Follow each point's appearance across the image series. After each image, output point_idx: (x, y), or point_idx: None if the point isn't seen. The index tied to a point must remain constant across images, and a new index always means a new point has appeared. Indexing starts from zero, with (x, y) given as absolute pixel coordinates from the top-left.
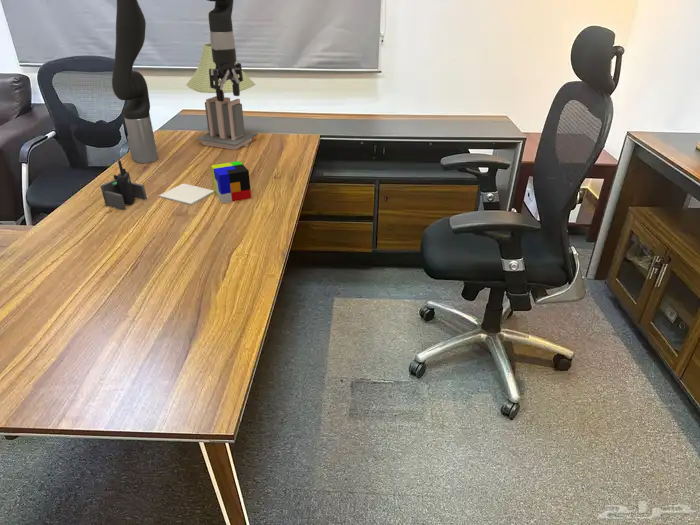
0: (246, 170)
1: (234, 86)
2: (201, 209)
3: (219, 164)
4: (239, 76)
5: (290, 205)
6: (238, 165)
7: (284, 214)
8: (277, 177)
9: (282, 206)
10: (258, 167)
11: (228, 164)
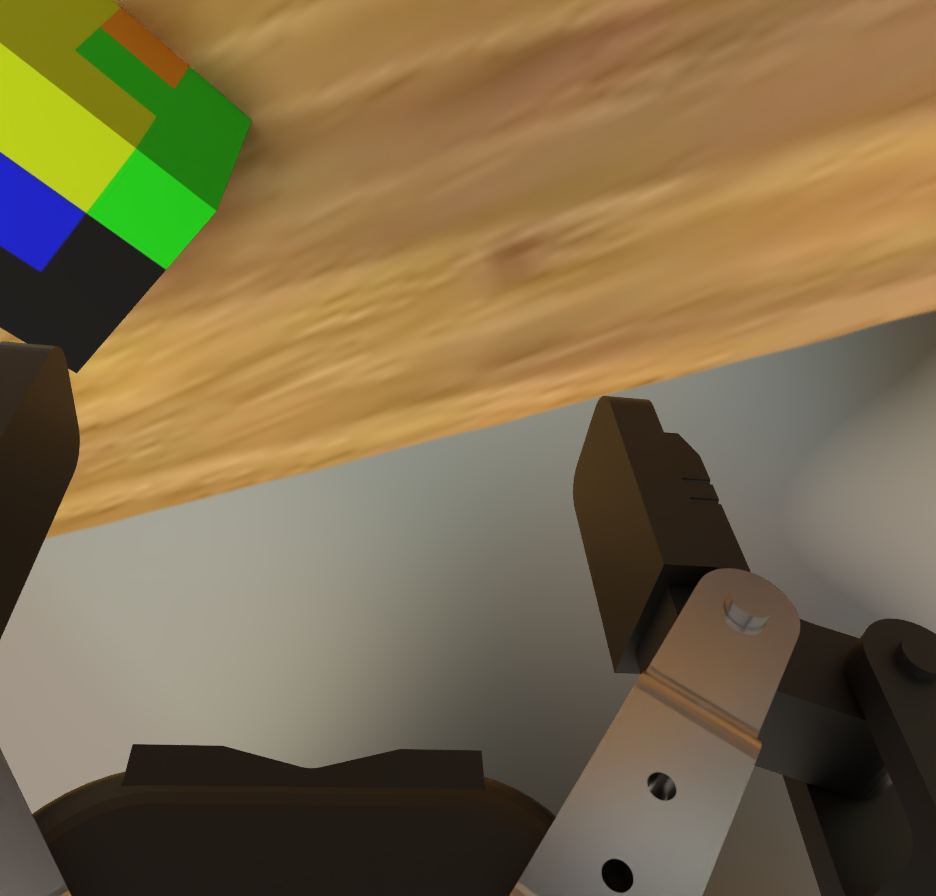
0: (69, 358)
1: (631, 577)
2: None
3: (26, 72)
4: (825, 848)
5: (179, 477)
6: (119, 252)
7: (71, 491)
8: (522, 262)
9: (144, 451)
10: (689, 30)
11: (82, 158)
